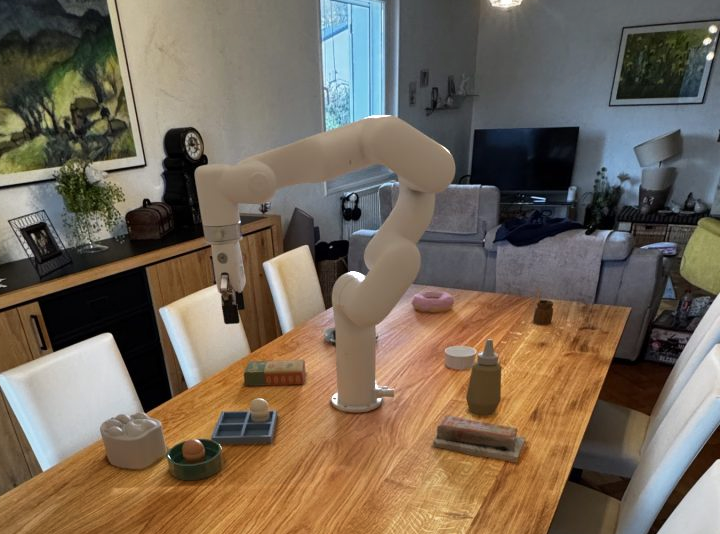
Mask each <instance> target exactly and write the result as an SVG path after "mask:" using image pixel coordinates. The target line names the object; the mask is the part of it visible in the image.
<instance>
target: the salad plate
mask: <svg viewBox="0 0 720 534" xmlns="http://www.w3.org/2000/svg"><path fill="white" fill-rule="evenodd" d="M323 335H324V337H325V338H324V342H326V343H328V344H330V345H332V346H333V347H336V332H335V326H333V327H330V328H329V327H328V328H327V329H324V330H323ZM377 339H379V334H378V332H376V340H377Z"/></svg>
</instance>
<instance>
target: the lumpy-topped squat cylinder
mask: <svg viewBox="0 0 720 534" xmlns="http://www.w3.org/2000/svg"><path fill="white" fill-rule="evenodd" d="M99 431H100V435H101V438H102V442H103V446H104V450H105V453H106V456H107V457H106V458H107V460H108V462H109V463H110V464H111V465H113V466H114V467H117V468H121V469H131V470H139V469H145V468H147V467H149V466H151V465H153V463H154V462H156V461H157V460H159V459H161V458H162V457H164V456H166V455H167V453H168V449H167V444H166V439H165V435H164V434H165V433H164V429H163V425H162V422H161V421H160V420H158V419H156V418H153V417H150V416H148V414H146V413H145V412H142V411H139V412H136V413H135V414H133V413H132V414H131V415H128V414H125V413H119V414H118V415H116V416H115V417H111V418H108V419H107V420H105V421H103V422H102V423H101V425H100V427H99Z"/></svg>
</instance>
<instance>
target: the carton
mask: <svg viewBox="0 0 720 534" xmlns="http://www.w3.org/2000/svg"><path fill="white" fill-rule="evenodd" d="M305 377H306V362H305V360H304V359H286V360H282V359H281V360H254V361H252V360H248V362H247V365H246V367H245V369H244V371H243V381H244V385H245V386H246V387H250V386H251V387H252V386H283V385H285V386H289V385H304V381H305Z"/></svg>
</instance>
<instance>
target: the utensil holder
mask: <svg viewBox="0 0 720 534" xmlns="http://www.w3.org/2000/svg"><path fill="white" fill-rule="evenodd" d="M551 292H554V293H553V294H552V297H551V296H550V294H549V293H548V295H547V296H548V297H546V298H547V299H540V297H541V295H540V288H539V287H538V286H536V294H537V295H536V296H537V299H538V300H537V302H536V306H535V307H534V311H533V319H532V322H533V324H535V325H538V326H547V325H551V323H552V320H553V313H554V308H553V307H554V301H555V300H554V299H555V297H556V295H557V292H556V290H554V289H551ZM554 295H555V296H554ZM550 298H551V300H549V299H550Z"/></svg>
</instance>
